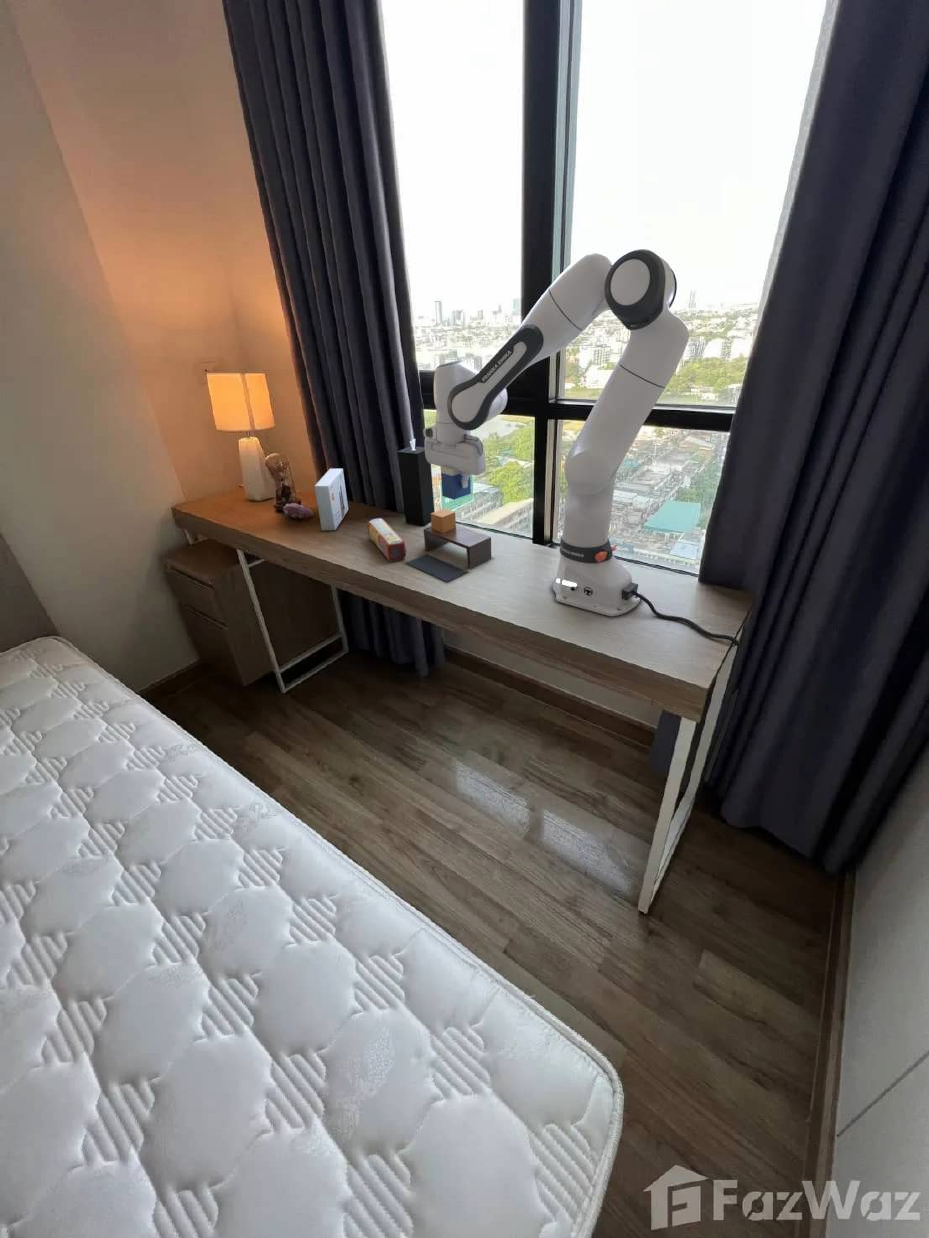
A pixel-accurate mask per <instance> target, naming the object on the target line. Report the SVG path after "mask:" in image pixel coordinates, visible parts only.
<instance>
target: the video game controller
mask: <svg viewBox="0 0 929 1238" xmlns="http://www.w3.org/2000/svg"><path fill="white" fill-rule="evenodd" d="M282 512H283V513H284V514H286V515H288V516H290V517H291V518H293V519H296V518H297V517H298V518H299V519H304V518H305V516H306V517H308V518H313V516H314V512H313V510H311V509H309V508H308V507H306V506H305V505H303V504H300V503H299V504H298V503H296V502H295V503H293V502H292V503H286V504H285V505H284V506H283V508H282Z"/></svg>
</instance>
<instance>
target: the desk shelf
mask: <svg viewBox="0 0 929 1238" xmlns="http://www.w3.org/2000/svg"><path fill="white" fill-rule="evenodd" d="M422 531H423V540H424V550H425V551H427V552H429V551H432V550H433V549H435V548H439V547H441V546H443V545H445V544H448V543H450V544H452V545H453V544H454V545H456V546H458V547H461V548H463V549H465V550H466V565H467V569H469V570H471V569H473V568H475V567H477V566H479V565H481V564H483V563H486V562H487V561H490V560H491V559H492V537H491V536H490V535H487V534H484V533H482V532H478V531H476V530H472V529H469V528H467V527H464V526H461V525H459V524H456V528H454V529H452V530H449V531H447V532H444V533H441V532H439V531H436V530H433V529H432V525H431V526H427V527H426V528H423V530H422Z"/></svg>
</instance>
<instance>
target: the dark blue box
mask: <svg viewBox="0 0 929 1238" xmlns="http://www.w3.org/2000/svg"><path fill="white" fill-rule="evenodd" d="M440 477H441V478H440V480H441V496H442V497H444V498H447V499H450V500H453V501H454V500H458V499H461V498H462V497H465V496H468V495H471V494H472V488H471V487H472V485H471V484H472V481H471V476H470V477H469V480H468V487H467V488H461V487H460V484H459V481H461V480H462V478H463V476H462V475H461V472H460V471H457V470H456V468H452V467H448V466H442V467H441V466H440Z"/></svg>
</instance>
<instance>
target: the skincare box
mask: <svg viewBox="0 0 929 1238" xmlns="http://www.w3.org/2000/svg"><path fill="white" fill-rule="evenodd" d="M314 491H315V498H316V504H317V510H318V515H319V521H320V529H321V531H336V530H337V529H338V527H339V525H340V524H341V522H342V520H343V519H344V518H345V516H346V514H347V513H348V511H349V505H348V497H347V496H348V495H347V490H346V483H345V475H344V468H329V469H328V470H327V471H326V472H325V473H324V475H322V477H321V478H320V479H319V480H318V481H317V482H316V483H315V485H314Z"/></svg>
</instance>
